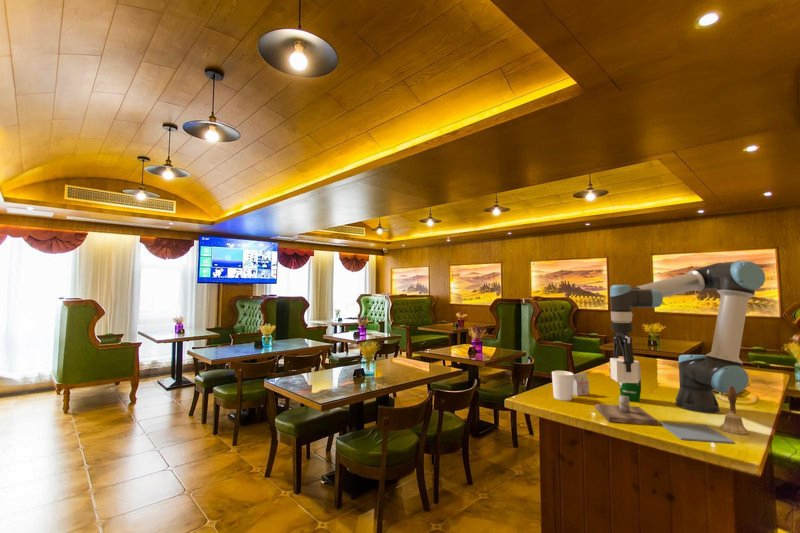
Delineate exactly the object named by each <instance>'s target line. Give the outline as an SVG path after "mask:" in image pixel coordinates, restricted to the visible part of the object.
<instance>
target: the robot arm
mask: <svg viewBox="0 0 800 533" xmlns="http://www.w3.org/2000/svg"><path fill="white" fill-rule="evenodd" d="M765 281H766V275H765V272H764V270H763V268H761V266H760V265H759V264H757V263H756V262H754V261H749V260H736V261H728V262H716V263H713V264H709V265H706V266H702V267H699V268H696V269H692V270H689V271H687V273H685V274H682V275H678V276H673V277H670V278H666V279H662V280H658V281H654V282H649V283H645V284H641V285H637V286H634V287H631V285H630V284H612V285H611V286H610V288H609V289H610V290H609V292H610V293H609V298H610V320H611V321H612V322H611V331H612V332H615V333H613V334H612V335H613V358H619V356H623V358H624V362H623V367H624V380H632V365H631V364H632V363H634V361H635V358H634V350H633V337H630V336H629V333H631V332H633V331H634V330H633V329H634V328H633V327H634V326H633V323H632V321H633V316H634V314H633V312H632V311H633V308H652V309H653V308H660V306H662V304H663V301H664V299H663V298H667V297H671V296H675V295H679V294H683V293H684V294H685V293H687V292H691V291H696V292H700V291H705V290H716V292H717V293H718V294H719V296H720V299H719V303H718V304H719V305H718V308H717V309H718V310H717V315H716V321H715V328H714V332H713V333H714V334H713V339H712V344H711V345H712V346H711V351H710V352H708V353H706V354H705V355H704V354H681V355H679V356H678V362H677V364H678V376H679V388H678V391H677V394H676V396H675V405H676V406H677V407H679V408H682V409H684V410H689V411H693V412H699V413H707V414H708V413H709V414H710V413H719V412H720V405H719V403H718V400H717V398H716V396H715V394H714V391H716V392H718V393H722V394H726V395H727V393H728V389H729V386H732V387H734V389H735V391H736V394H739V393H740V392H743V391H745V389H747V386H748V385H749V379H750V378H749V374H748V373H747V371H746V370H745V369H744V368H743V365H744V362H743V361H742V360H741V358H740V357H739V356H740V352H741V346H742V340H743V339H742V338H743V335H744V334H743V333H744V327H745V322H746V316H747V309H748V304H749V303H748V302H749V300H750V299H751V298H753V297H755V292H756V290H759V289H760V288H761V287H763V285H764V284H765Z"/></svg>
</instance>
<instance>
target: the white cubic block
mask: <svg viewBox="0 0 800 533" xmlns="http://www.w3.org/2000/svg"><path fill="white" fill-rule="evenodd" d="M636 361H637V360H634V363H632V364H631V365H632V380H624V367H623V362H624V358H623V356H619V358H615V357H610V358H609V363H610V364H609V366H610V369H609V370H610V379H612V380H613V381H614V382H616V383H618V384H619V383H638V366H637V362H636Z"/></svg>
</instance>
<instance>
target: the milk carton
mask: <svg viewBox="0 0 800 533" xmlns="http://www.w3.org/2000/svg"><path fill="white" fill-rule="evenodd" d="M635 361H636V362H637V366H638V383H619V382H618V384H619V391H620V393H619V394H620V395H623V396H628V397H629V402H632V401H633V403H640V399H641V394H642V379H641V378H642V377H641V364H640V361H639V360H635Z"/></svg>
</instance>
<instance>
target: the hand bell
mask: <svg viewBox="0 0 800 533" xmlns="http://www.w3.org/2000/svg"><path fill="white" fill-rule="evenodd" d="M737 394H738V393H737ZM737 394H736V391H735V389H734V387H732V386H729V389H728V393H727V394H726V395H727V399H728V402H729V413H726V414H725V415H724V422H722V424H721V425H720V426H719V429H720V430H722V431H723V432H726V433H731V434H735V435H742V436H743V435H749V434H750V431H749V430H748V429H747V428H746V427H745V425H744V423H743V420H742V416H740V415H738V414H737V410H736V402H737V398H738V396H737Z"/></svg>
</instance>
